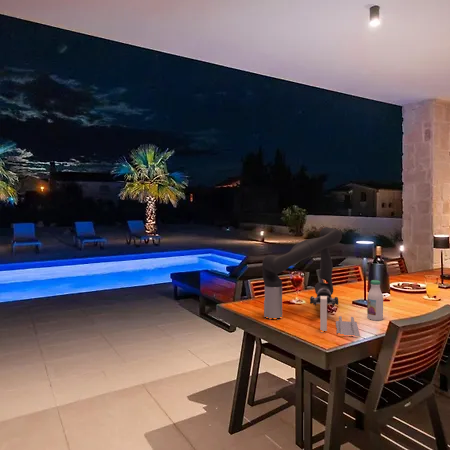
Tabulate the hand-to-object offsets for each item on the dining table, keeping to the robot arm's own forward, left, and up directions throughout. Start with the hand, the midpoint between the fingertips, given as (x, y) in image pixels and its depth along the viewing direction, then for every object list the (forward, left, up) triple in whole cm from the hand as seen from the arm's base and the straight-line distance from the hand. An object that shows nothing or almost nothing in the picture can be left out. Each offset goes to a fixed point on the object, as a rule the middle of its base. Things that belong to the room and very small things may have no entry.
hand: (324, 304), depth 202 cm
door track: (+11, -9, -10) cm, 17 cm away
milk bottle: (+26, +12, -10) cm, 30 cm away
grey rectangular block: (0, -12, -10) cm, 15 cm away
